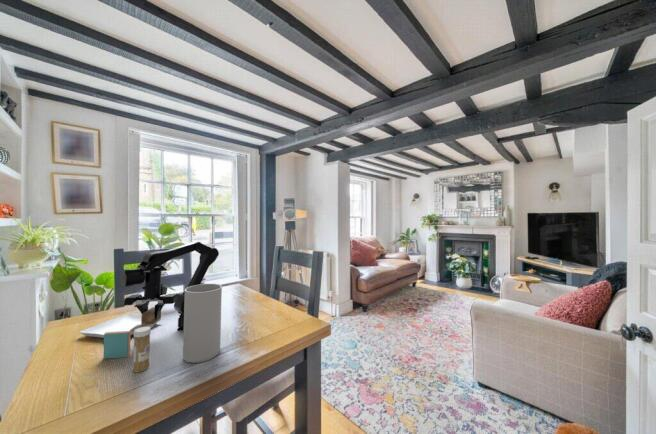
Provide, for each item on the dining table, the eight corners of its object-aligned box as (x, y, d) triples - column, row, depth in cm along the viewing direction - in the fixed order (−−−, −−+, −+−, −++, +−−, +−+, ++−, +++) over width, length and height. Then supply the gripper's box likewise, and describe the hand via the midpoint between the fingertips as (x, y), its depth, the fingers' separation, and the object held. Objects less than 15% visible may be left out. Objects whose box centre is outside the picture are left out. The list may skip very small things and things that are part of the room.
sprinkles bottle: (145, 372, 82) (146, 331, 82) (129, 373, 80) (130, 332, 81) (152, 364, 86) (153, 325, 86) (137, 365, 85) (138, 326, 85)
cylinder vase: (195, 345, 99) (196, 283, 100) (225, 346, 99) (227, 284, 99) (174, 363, 87) (177, 292, 87) (209, 364, 86) (211, 292, 87)
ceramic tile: (130, 355, 91) (130, 330, 92) (127, 357, 90) (128, 332, 90) (105, 356, 90) (106, 332, 90) (102, 359, 89) (103, 333, 89)
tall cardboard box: (163, 318, 108) (164, 306, 108) (147, 331, 95) (147, 318, 95) (148, 318, 107) (149, 307, 107) (129, 332, 94) (130, 318, 94)
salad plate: (118, 345, 99) (118, 336, 100) (77, 339, 104) (78, 331, 104) (163, 324, 120) (163, 316, 120) (127, 319, 124) (127, 313, 125)
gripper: (184, 277, 114) (183, 311, 113) (139, 278, 111) (138, 313, 110) (173, 283, 103) (172, 321, 102) (123, 284, 100) (121, 323, 99)
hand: (151, 319), depth 104 cm, fingers closed on tall cardboard box, 3 cm apart
